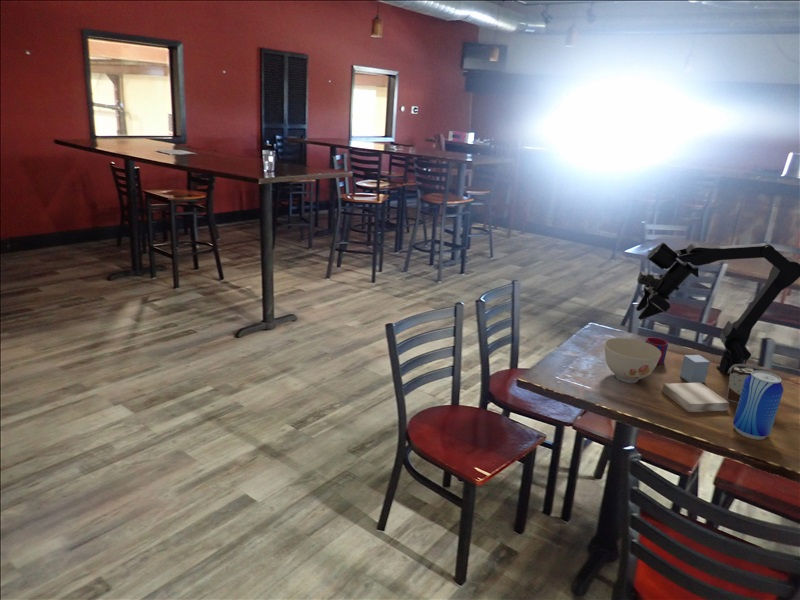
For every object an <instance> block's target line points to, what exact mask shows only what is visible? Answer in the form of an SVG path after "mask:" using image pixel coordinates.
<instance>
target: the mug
mask: <svg viewBox="0 0 800 600" xmlns="http://www.w3.org/2000/svg"><path fill="white" fill-rule="evenodd" d="M645 342H646V343H649V344H651V345H653V346H655V347H656V348H658V349H659V350H660V351H661V357H660V359H659V361H658V363H657V365H656V366H658V365H663V364H664V363H665V360H666V356H667V351H668V345H669V342H668V341H667V340H665V339H663V338H662V337H653V336H652V337H651V336H650V337H646V338H645Z"/></svg>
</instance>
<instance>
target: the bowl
mask: <svg viewBox="0 0 800 600" xmlns="http://www.w3.org/2000/svg"><path fill="white" fill-rule="evenodd" d="M603 345H604V358H605V359H604V360H605V362H606V363H605V364H606V365H607V367H608V368H609V370H610V371H611V372H612V373H613V374H615V378H616V379H617V380H619V381H620V380H621V382H624V383H626V384H627V383H628V384H635V383H637V382H639V380H641V379H645V378H647V377H648V376H650V374H652V373H653V371H654V370H655V368H656V367H657V366H658V365H657V363H658V361H659V359H660V357H661V351H660V350H659V349H658V348H656V347H655V346H653V345H651V344H649V343H646V341H643V340H639V339H635V338H628V337H612V338H609V339H606V340H605V341H604V344H603Z"/></svg>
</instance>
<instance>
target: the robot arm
mask: <svg viewBox="0 0 800 600" xmlns="http://www.w3.org/2000/svg"><path fill="white" fill-rule="evenodd" d="M760 258H761V259H763V258H764V259H765V260H766V261H767V262H768V263H770V264H771V265H772V267H771V269H770V271H769V274H768V277H767V281H766V283H765V284H764V286H762V288H761V290H760V291H759V292H758V293H757V295H755V297H754V298H753V300H752V301H751V302H750V303H749V305H748V306H747V307H746V308H745V310H744V311H743V313H742V314H741V315H740V317H738V319H737V320H735V321H734V322H731V321H729V320H728V321H727V322H726V323H725V326H724V327H723V328H722V329H720V330H719V331H720V335H719V337H720V338H719V339H720V341H721V343H722V345H723V346H724V348H725V349H726V351H724V352H723V355H722V357H721V359H720V363H719V364H720V365H716V369H718V370H720V371H721V372H722V373H723V374H726V375H727V376H729V377H730V372H729V373H728V371H729V369H730V368H731V366H733V365H736V364H747V361H748V360H749V359H750V357H751V356H752V354H751V352H750V350H749V349H748V348H747V347H746V345H747V343H748V341H749V340H750V337H751V336H750V335H751V333H752V330H753V328H754V326H755V325H756V324H757V323H758V322H759V320H760V319H761V317H762V316H763V315H764V314H765V313H766V311H767V310H768V308H769V307H770V306H771V305H772V303H774V301H775V300H776V299H777V297H778V296H779V295H780V293H781V292H782V291H783V290H785V289H787V288H789V287H790V286H792V285H793V284H794V283H795V282H796V281H798V279H799V278H800V263H798V262H797V261H796V260H795V259H793V258H791V257H788V256H787V257H786V256H784V255H783V254H781V253H780V252H779V251H778V250H776V249H775V247H774V246H773V245H772V244H771V243H768V242H760V243H750V244H749V243H747V244H735V245H712V244H705V243H691V244H689V245H688V246H687V247H685V248H683V249H677V250H673V249H672V248H671V247H670V246H668V244H666V243H665V242H664V241H662V242H661V243H660V244H659V245H657V246H656V247H653V249H652V250H651V251H650V252H649V254H648V255H647V258H646V259H647V260H648V261H649V262H651V263H652V264H654V265H655V266H656V267H658V268H659V269H660V270H664V269H665V270H667V271H665V273H660V274H659V275H656V274H653V273H650V272H646V271H643V270H641V271H639V272H640V273H639V274H638V277H637V279H636V280H637V283H638V284H639V285H642V286H643V287H642V288H643V295H642V297H641V299H640V301H639V303H638V304H637V306H636V307H635V310H636V311H637V312H640V311H641V310H642V311H641V313H640V314H639V315H638V320H640V321H642V320H645V319H646V318H649V317H653V316H655V315H658V314H661V313H667V311H668V310H670V309H671V302H670V301H669V300H670V299H671V297H670V296H671V295H672V294H673V293H674V292H675V291H678V290H679V289H680V286H681V285H682V284H683V283H684V282H685V281H686V280H687V279H688V278H689V277H690V276H691V275H693V276H695V277H696V278H698V277H700V275H699V269H700V268H699V266H703V265H704V266H705V265H709V264H712V263H715V262H718V261H719V262H720V261H724V260H725V261H726V260H728V261H729V260H745V259H748V260H749V259H760Z"/></svg>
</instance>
